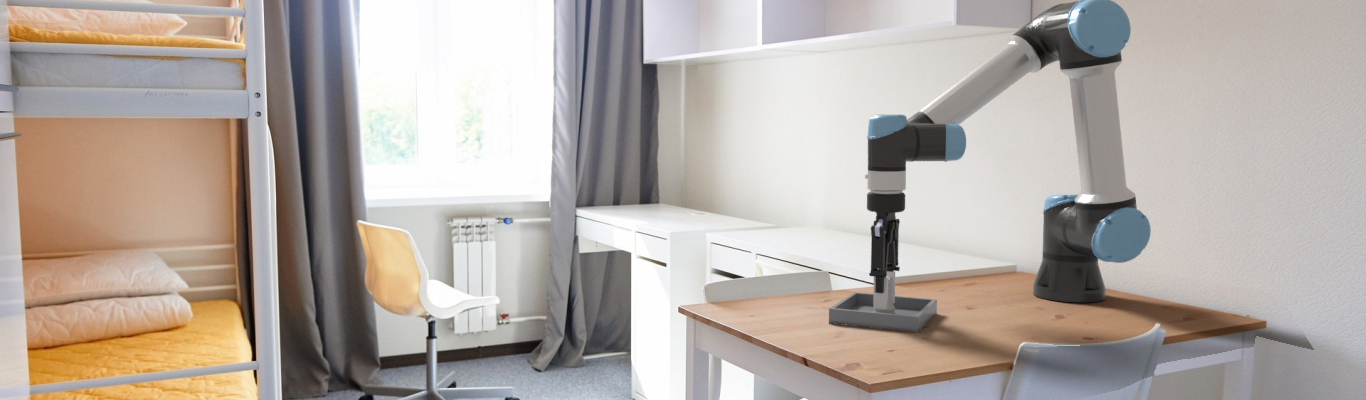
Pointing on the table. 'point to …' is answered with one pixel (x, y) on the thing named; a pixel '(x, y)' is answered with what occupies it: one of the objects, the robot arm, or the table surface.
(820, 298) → the table surface
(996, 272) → the table surface
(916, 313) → the tray
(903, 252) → the table surface
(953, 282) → the table surface
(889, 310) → the rook chess piece
